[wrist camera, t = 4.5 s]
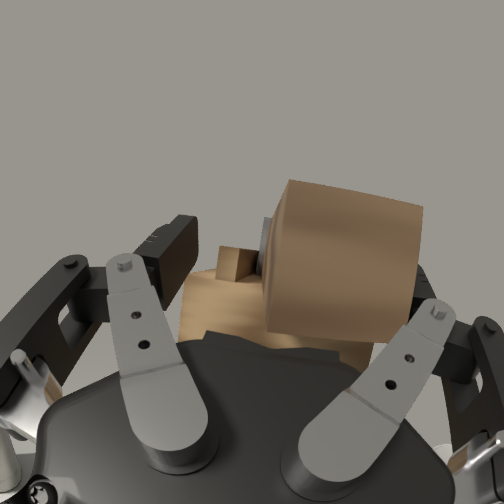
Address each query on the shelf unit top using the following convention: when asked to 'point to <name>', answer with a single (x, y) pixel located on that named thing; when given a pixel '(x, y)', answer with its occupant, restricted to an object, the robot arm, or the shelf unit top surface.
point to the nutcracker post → (246, 309)
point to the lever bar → (339, 263)
